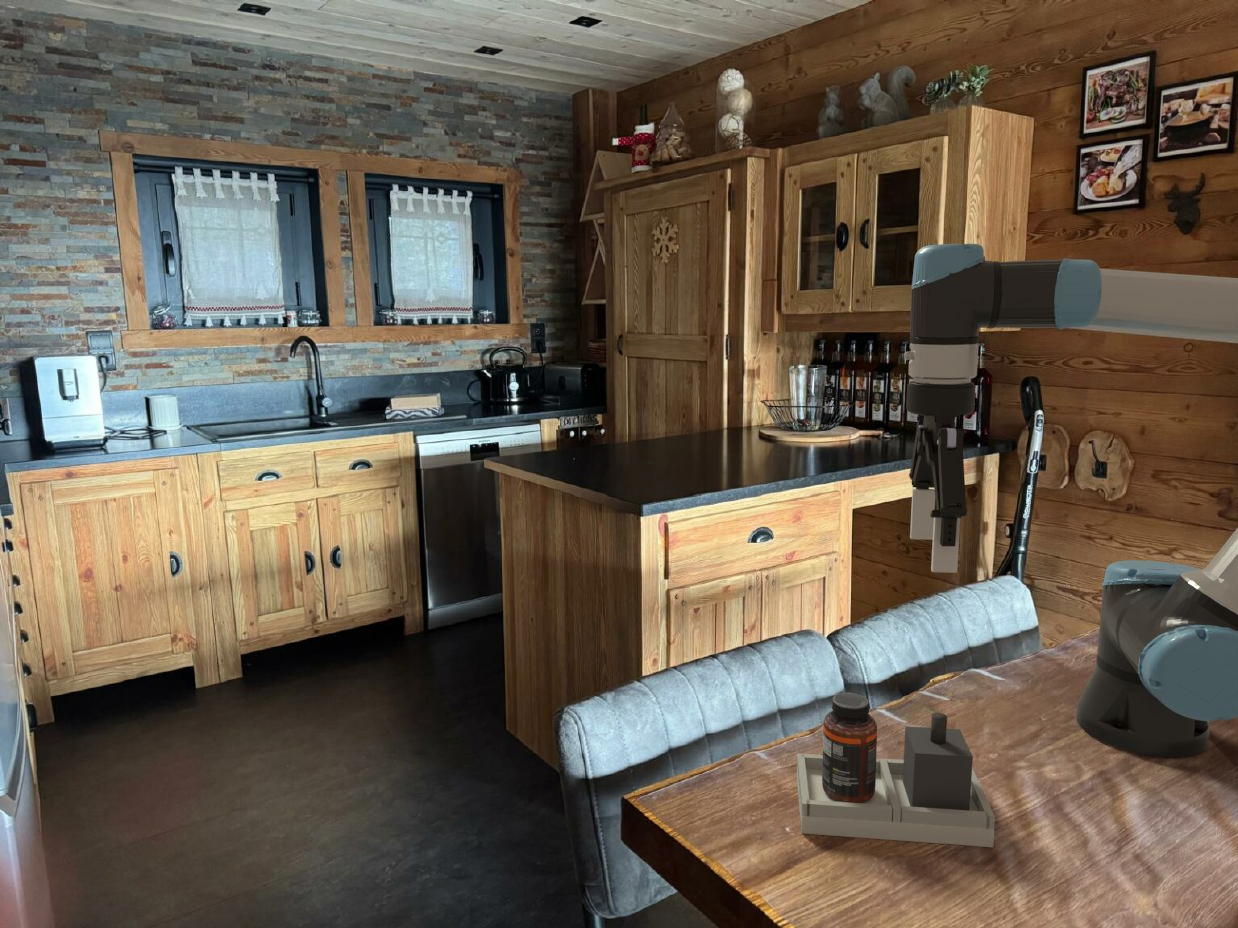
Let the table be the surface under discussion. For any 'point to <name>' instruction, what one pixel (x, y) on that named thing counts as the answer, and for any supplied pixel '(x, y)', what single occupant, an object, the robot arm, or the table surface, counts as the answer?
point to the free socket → (830, 807)
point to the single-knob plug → (937, 766)
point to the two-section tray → (905, 814)
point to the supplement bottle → (849, 749)
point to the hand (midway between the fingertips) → (931, 554)
